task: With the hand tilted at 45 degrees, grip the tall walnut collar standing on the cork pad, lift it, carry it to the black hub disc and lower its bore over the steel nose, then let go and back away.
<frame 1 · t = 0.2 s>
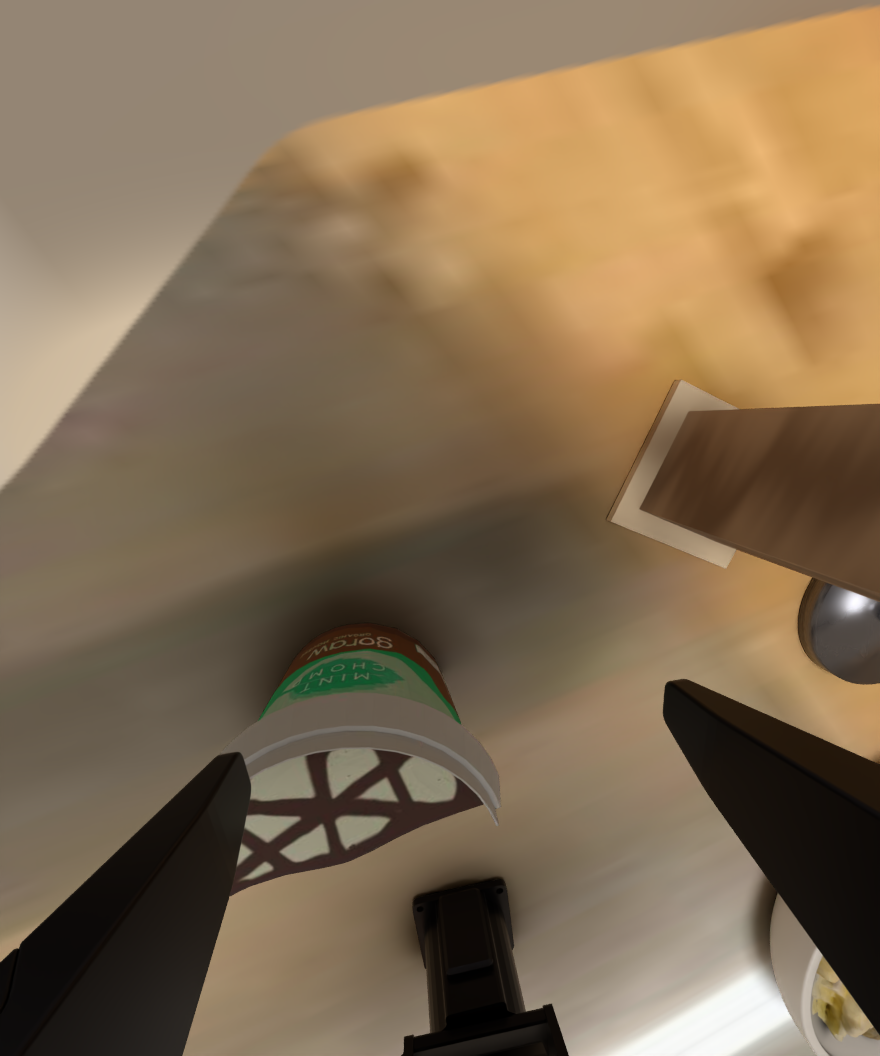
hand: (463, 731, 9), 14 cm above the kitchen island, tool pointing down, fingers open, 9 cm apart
cork pad: (698, 479, 23), on the kitchen island
food container: (348, 654, 24), on the kitchen island
collar: (704, 480, 23), resting on cork pad
hub: (870, 604, 27), on the kitchen island
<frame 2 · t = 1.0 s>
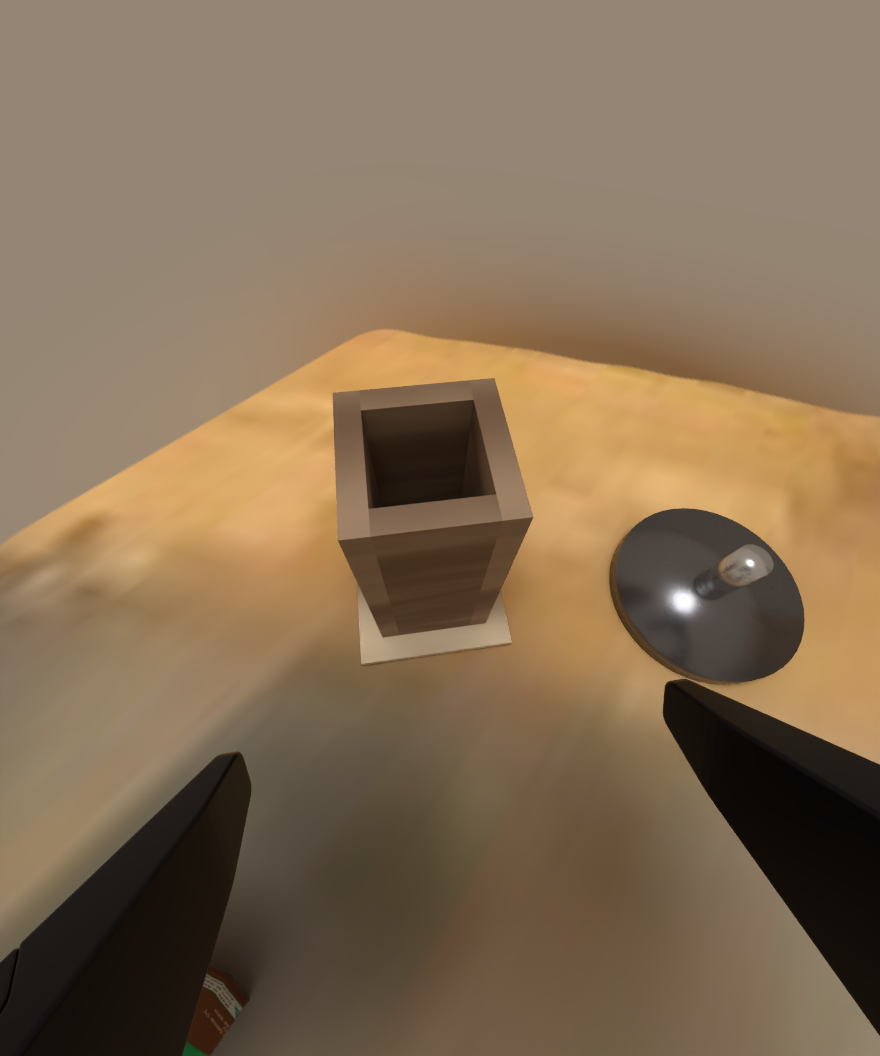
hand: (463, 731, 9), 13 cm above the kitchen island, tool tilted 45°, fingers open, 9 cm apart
cork pad: (428, 584, 24), on the kitchen island
food container: (99, 1050, 16), on the kitchen island
collar: (427, 581, 24), resting on cork pad
hub: (696, 593, 24), on the kitchen island
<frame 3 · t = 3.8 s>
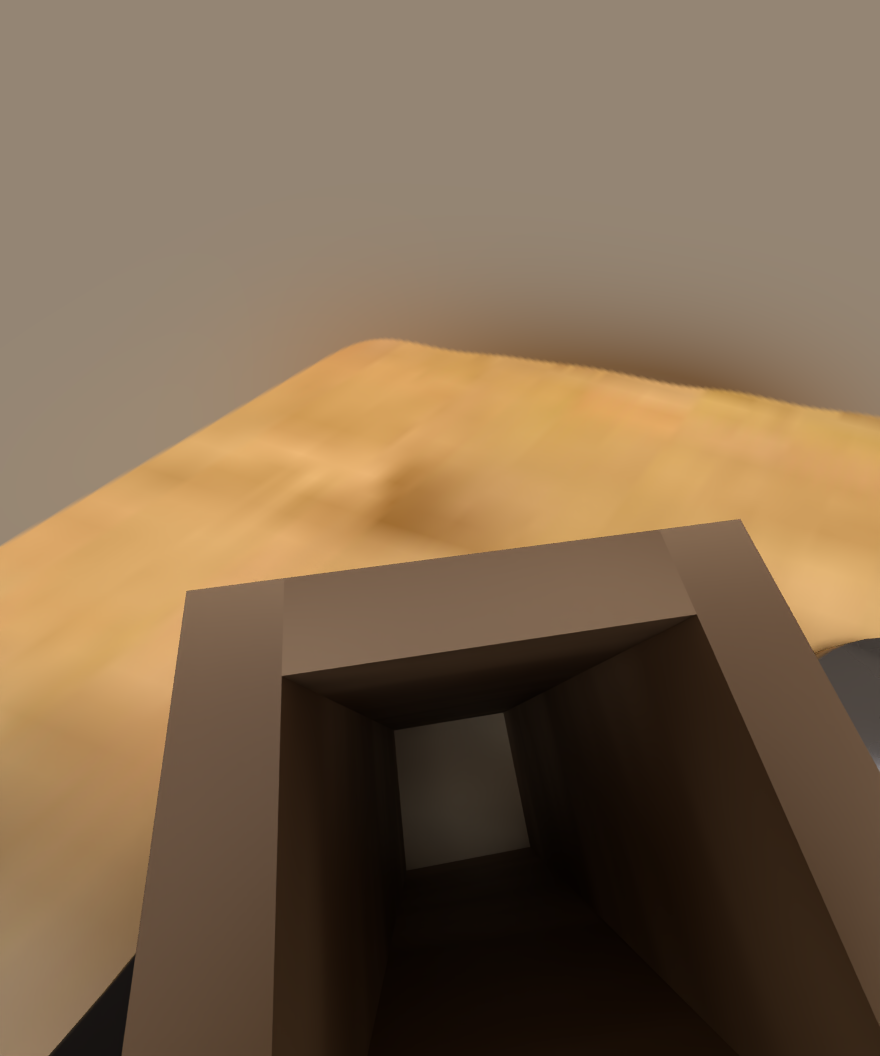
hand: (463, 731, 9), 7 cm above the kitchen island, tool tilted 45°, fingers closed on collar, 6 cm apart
cork pad: (457, 784, 14), on the kitchen island
collar: (458, 785, 13), resting on cork pad, touching gripper
when the fingers open (9 cm above the kitchen island, at t = 8.7 s): collar drops 1 cm, resting on hub.
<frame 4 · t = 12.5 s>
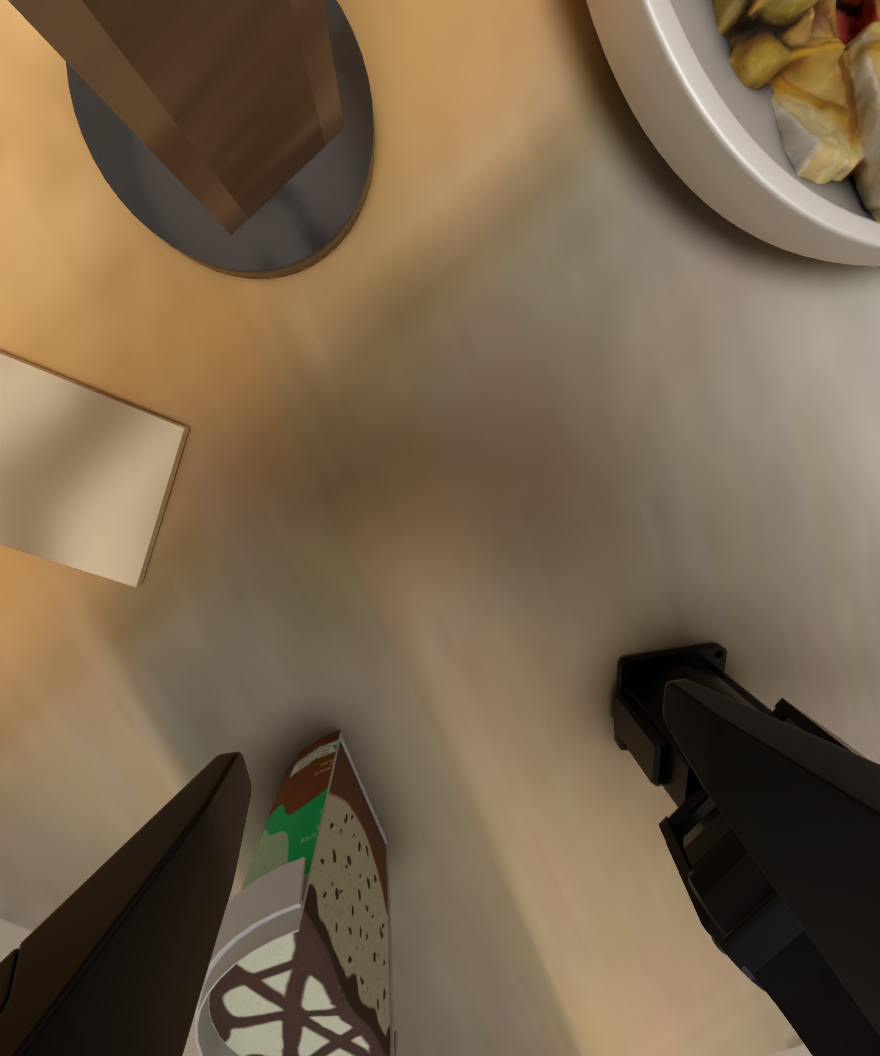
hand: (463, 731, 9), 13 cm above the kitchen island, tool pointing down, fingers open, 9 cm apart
cork pad: (69, 474, 18), on the kitchen island
food container: (317, 801, 25), on the kitchen island
collar: (228, 104, 14), point 1 cm above the kitchen island, touching hub
hub: (239, 127, 16), on the kitchen island
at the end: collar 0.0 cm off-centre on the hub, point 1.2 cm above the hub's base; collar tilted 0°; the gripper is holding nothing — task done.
